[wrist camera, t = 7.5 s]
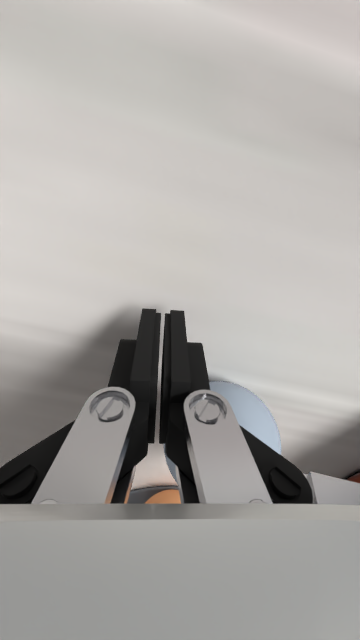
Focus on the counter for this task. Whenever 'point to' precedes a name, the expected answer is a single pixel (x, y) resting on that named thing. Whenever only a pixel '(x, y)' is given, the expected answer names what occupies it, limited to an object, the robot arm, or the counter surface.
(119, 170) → the counter surface
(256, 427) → the light blue ball
